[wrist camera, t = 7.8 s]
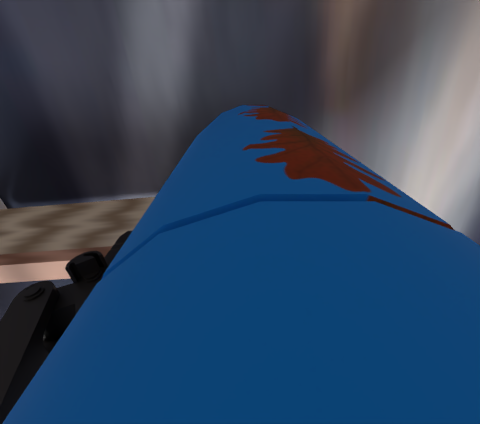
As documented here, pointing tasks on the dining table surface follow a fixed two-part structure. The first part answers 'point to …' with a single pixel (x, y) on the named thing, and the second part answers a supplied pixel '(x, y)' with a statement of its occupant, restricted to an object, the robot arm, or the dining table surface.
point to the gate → (61, 235)
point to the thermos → (272, 298)
